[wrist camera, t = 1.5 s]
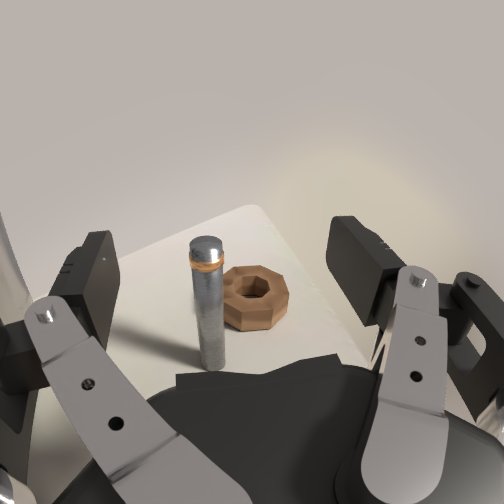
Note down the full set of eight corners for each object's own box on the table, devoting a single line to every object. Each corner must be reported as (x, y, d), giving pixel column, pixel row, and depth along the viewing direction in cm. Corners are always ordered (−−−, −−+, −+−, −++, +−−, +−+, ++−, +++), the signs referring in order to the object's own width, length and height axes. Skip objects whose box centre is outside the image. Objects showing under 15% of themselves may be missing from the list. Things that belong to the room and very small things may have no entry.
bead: (219, 332, 34) (219, 313, 33) (215, 286, 41) (214, 267, 39) (291, 326, 36) (294, 307, 34) (276, 282, 42) (278, 264, 41)
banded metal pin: (201, 372, 30) (187, 254, 22) (200, 352, 32) (188, 235, 24) (227, 371, 30) (225, 253, 22) (225, 351, 32) (222, 234, 25)
